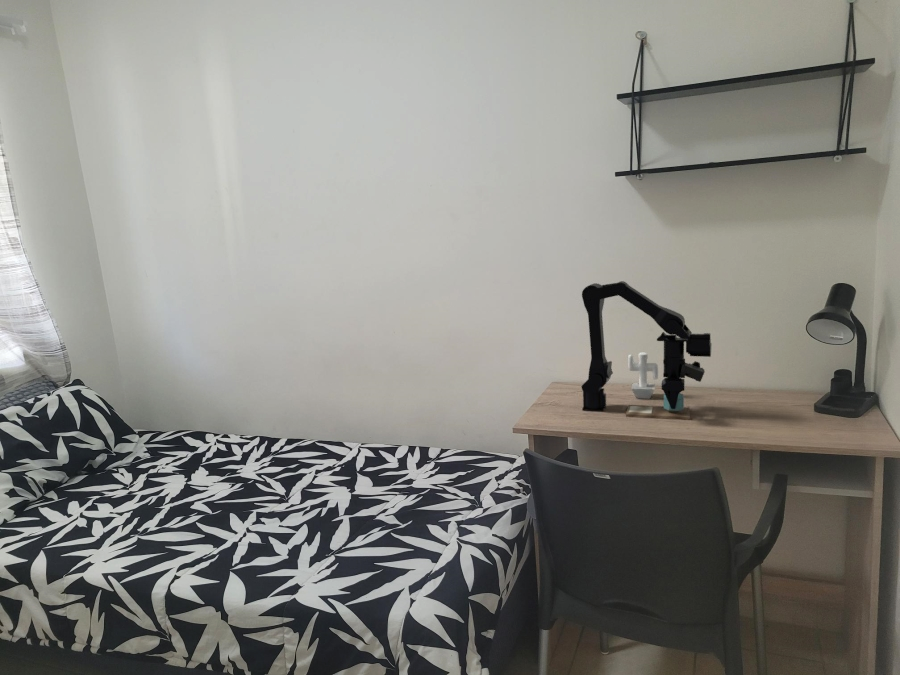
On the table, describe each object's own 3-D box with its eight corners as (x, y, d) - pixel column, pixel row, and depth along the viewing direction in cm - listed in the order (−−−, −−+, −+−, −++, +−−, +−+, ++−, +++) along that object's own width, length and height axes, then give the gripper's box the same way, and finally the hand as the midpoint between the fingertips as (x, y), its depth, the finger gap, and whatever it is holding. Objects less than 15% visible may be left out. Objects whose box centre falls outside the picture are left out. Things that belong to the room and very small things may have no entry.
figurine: (658, 400, 202) (657, 355, 200) (628, 399, 205) (627, 355, 203) (658, 394, 209) (658, 350, 206) (629, 393, 212) (628, 350, 209)
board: (625, 416, 187) (625, 400, 186) (628, 407, 197) (628, 392, 196) (689, 419, 181) (689, 403, 180) (689, 410, 190) (689, 394, 189)
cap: (663, 409, 185) (663, 397, 184) (664, 404, 190) (664, 392, 190) (683, 410, 183) (683, 397, 182) (683, 405, 188) (683, 392, 188)
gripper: (703, 363, 172) (702, 416, 175) (702, 349, 190) (701, 398, 192) (661, 362, 176) (661, 414, 179) (664, 349, 194) (664, 397, 196)
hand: (673, 406), depth 187 cm, fingers closed on cap, 6 cm apart
